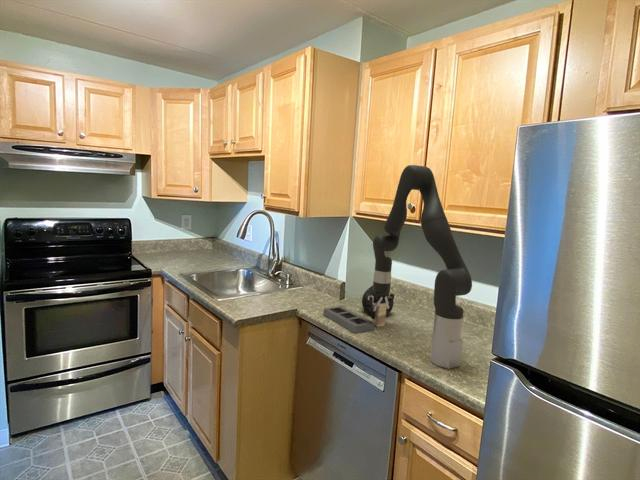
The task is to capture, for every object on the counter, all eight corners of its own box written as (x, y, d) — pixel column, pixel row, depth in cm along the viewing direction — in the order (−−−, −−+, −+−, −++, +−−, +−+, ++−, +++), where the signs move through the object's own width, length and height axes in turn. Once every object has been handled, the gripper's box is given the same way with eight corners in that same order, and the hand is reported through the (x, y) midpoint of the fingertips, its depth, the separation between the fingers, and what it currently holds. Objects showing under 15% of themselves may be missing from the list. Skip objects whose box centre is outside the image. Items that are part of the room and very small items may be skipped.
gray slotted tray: (373, 329, 158) (374, 323, 158) (354, 333, 153) (355, 326, 152) (340, 312, 178) (341, 306, 178) (323, 314, 173) (323, 308, 172)
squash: (378, 309, 168) (391, 282, 174) (352, 302, 178) (365, 276, 184) (390, 325, 176) (402, 298, 182) (364, 317, 187) (377, 292, 193)
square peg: (384, 325, 164) (386, 303, 163) (377, 326, 162) (379, 304, 161) (378, 322, 167) (380, 300, 166) (371, 323, 165) (373, 301, 164)
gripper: (375, 284, 155) (371, 322, 157) (400, 281, 163) (396, 318, 165) (363, 279, 161) (360, 317, 163) (388, 277, 169) (385, 312, 171)
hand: (378, 317), depth 164 cm, fingers open, 6 cm apart
